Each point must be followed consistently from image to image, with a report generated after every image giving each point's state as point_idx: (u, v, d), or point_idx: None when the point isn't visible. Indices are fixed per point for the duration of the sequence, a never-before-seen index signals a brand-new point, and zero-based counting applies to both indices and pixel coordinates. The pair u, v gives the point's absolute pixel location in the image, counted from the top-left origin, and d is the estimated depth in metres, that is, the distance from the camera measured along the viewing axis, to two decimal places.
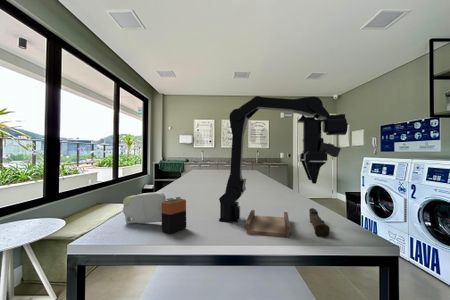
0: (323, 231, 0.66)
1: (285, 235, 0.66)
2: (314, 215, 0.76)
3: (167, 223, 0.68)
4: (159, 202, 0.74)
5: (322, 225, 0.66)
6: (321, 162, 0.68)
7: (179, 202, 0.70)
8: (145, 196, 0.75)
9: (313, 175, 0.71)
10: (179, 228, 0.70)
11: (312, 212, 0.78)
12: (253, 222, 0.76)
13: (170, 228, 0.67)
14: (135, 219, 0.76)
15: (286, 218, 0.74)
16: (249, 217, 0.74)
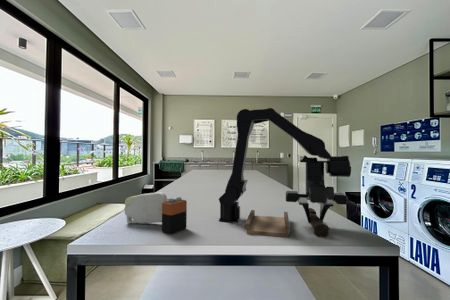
0: (322, 231, 0.66)
1: (285, 235, 0.66)
2: (312, 215, 0.76)
3: (167, 223, 0.68)
4: (160, 202, 0.75)
5: (321, 225, 0.66)
6: None
7: (180, 202, 0.70)
8: (147, 196, 0.76)
9: None
10: (179, 229, 0.70)
11: (310, 212, 0.79)
12: (253, 222, 0.76)
13: (171, 229, 0.67)
14: (136, 219, 0.76)
15: (286, 218, 0.74)
16: (249, 217, 0.74)
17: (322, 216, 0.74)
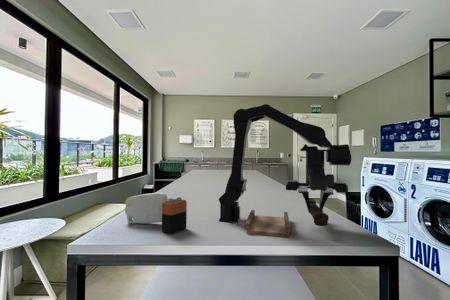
0: (322, 220, 0.66)
1: (285, 235, 0.66)
2: (312, 205, 0.76)
3: (167, 224, 0.68)
4: (161, 202, 0.75)
5: (321, 214, 0.66)
6: (298, 191, 0.75)
7: (180, 202, 0.70)
8: (147, 196, 0.76)
9: None
10: (179, 229, 0.70)
11: (310, 202, 0.78)
12: (253, 222, 0.76)
13: (171, 229, 0.67)
14: (137, 219, 0.76)
15: (286, 218, 0.74)
16: (249, 217, 0.74)
17: (322, 205, 0.74)
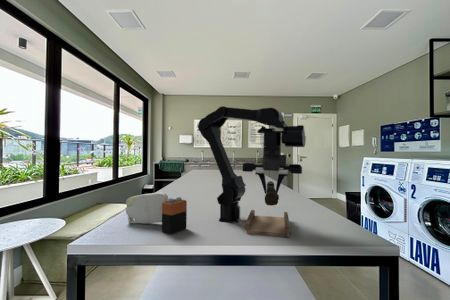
0: (272, 199, 0.66)
1: (285, 235, 0.66)
2: (269, 187, 0.76)
3: (167, 223, 0.68)
4: None
5: (271, 193, 0.66)
6: (255, 173, 0.75)
7: (180, 202, 0.70)
8: (148, 196, 0.76)
9: None
10: (179, 229, 0.70)
11: (268, 184, 0.79)
12: (253, 222, 0.76)
13: (171, 229, 0.67)
14: (137, 219, 0.76)
15: (286, 218, 0.74)
16: (249, 217, 0.74)
17: (277, 186, 0.74)
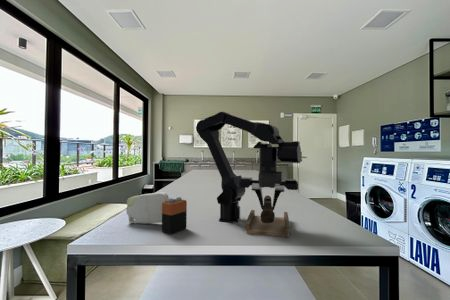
0: (268, 217, 0.66)
1: (285, 235, 0.66)
2: (266, 202, 0.76)
3: (167, 224, 0.68)
4: None
5: (267, 211, 0.66)
6: None
7: (180, 202, 0.70)
8: (148, 196, 0.76)
9: None
10: (179, 229, 0.70)
11: (265, 199, 0.78)
12: (253, 222, 0.76)
13: (171, 229, 0.67)
14: (138, 219, 0.76)
15: (286, 218, 0.74)
16: (249, 217, 0.74)
17: (274, 202, 0.74)
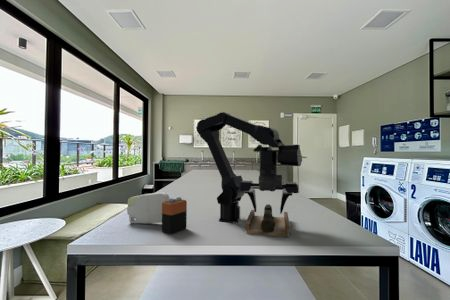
0: (268, 226, 0.66)
1: (285, 235, 0.66)
2: (267, 211, 0.76)
3: (167, 223, 0.68)
4: None
5: (268, 220, 0.66)
6: (245, 191, 0.75)
7: (180, 202, 0.70)
8: (149, 196, 0.76)
9: None
10: (179, 229, 0.70)
11: (266, 208, 0.79)
12: (253, 222, 0.76)
13: (171, 229, 0.67)
14: (139, 219, 0.76)
15: (286, 218, 0.74)
16: (249, 217, 0.74)
17: (282, 205, 0.73)
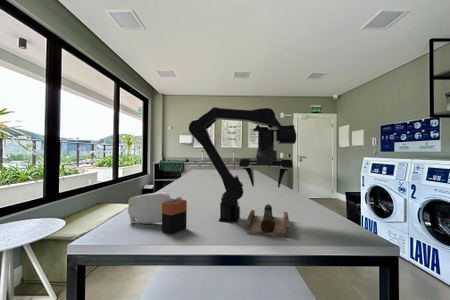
0: (268, 226, 0.66)
1: (285, 235, 0.66)
2: (267, 211, 0.76)
3: (167, 223, 0.68)
4: None
5: (267, 220, 0.66)
6: (243, 167, 0.83)
7: (180, 202, 0.70)
8: (150, 196, 0.76)
9: None
10: (179, 229, 0.70)
11: (266, 208, 0.79)
12: (253, 222, 0.76)
13: (171, 229, 0.67)
14: (139, 219, 0.76)
15: (286, 218, 0.74)
16: (249, 217, 0.74)
17: (279, 180, 0.80)
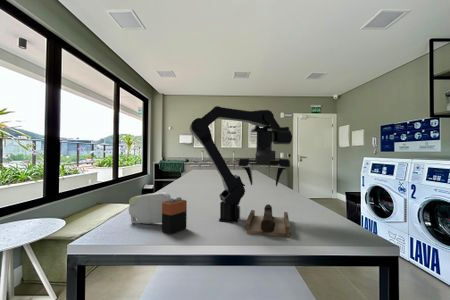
0: (268, 226, 0.66)
1: (285, 235, 0.66)
2: (267, 211, 0.76)
3: (167, 224, 0.68)
4: None
5: (267, 220, 0.66)
6: (242, 167, 0.86)
7: (180, 202, 0.70)
8: (151, 196, 0.76)
9: None
10: (179, 229, 0.70)
11: (266, 208, 0.79)
12: (253, 222, 0.76)
13: (171, 229, 0.67)
14: (140, 219, 0.76)
15: (286, 218, 0.74)
16: (249, 217, 0.74)
17: (277, 178, 0.84)
